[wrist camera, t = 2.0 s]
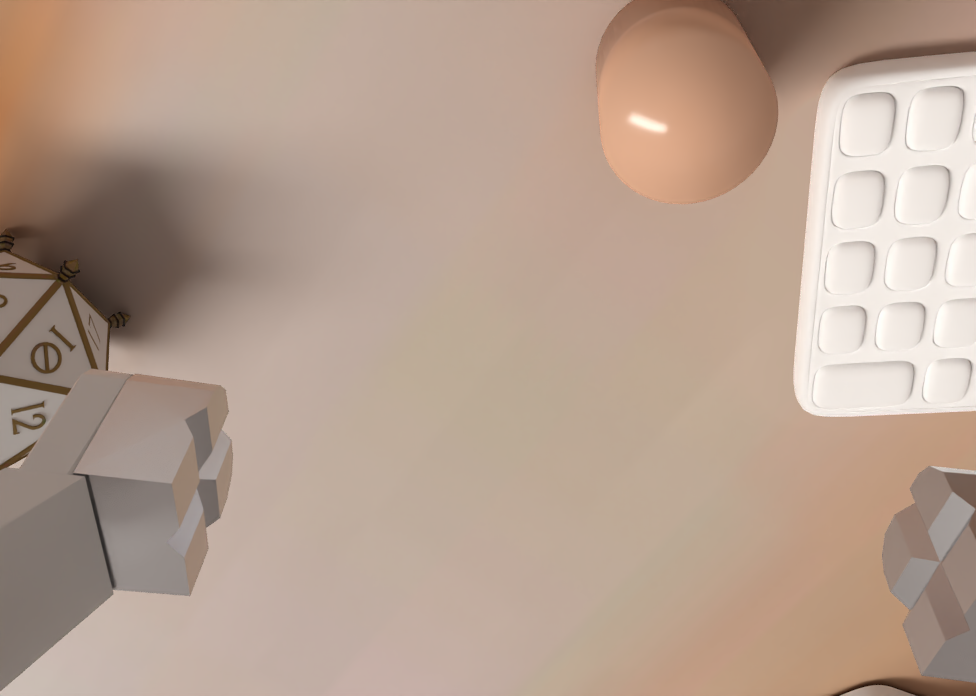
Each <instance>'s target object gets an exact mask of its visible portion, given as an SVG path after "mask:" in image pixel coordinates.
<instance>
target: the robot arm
mask: <svg viewBox="0 0 976 696" xmlns="http://www.w3.org/2000/svg"><path fill="white" fill-rule="evenodd" d="M228 412H229V410H228V403H227V396H226V390H225V389H224V388H223V387H222V386H220V385H214V384H206V383H199V382H192V381H184V380H177V379H170V378H163V377H155V376H148V375H141V374H135V375H132V374H126V373H119V372H112V371H105V370H98V369H90V370H88V371H87V372H85V373H83V374H82V375H81V376H80V377H79V378H78V379H77V381H76V383H75V384H74V386H73V387H72V389H71V390H70V392H69V393H68V395H67V396H66V398H65V399H64V401H63V402H62V404H61V405H60V407H59V409H58V410H57V412H56V413H55V415H54V416H53V418H52V419H51V421H50V422H49V424H48V425H47V427H46V428H45V430H44V431H43V433H42V435H41V436H40V438H39V439H38V441H37V442H36V444H35V445H34V447H33V448H32V450H31V451H30V453H29V454H28V456H27V457H26V459H25V461H24V462H23V464H22V465H21V467H20V468H19V469H15V468H4V469H2V470H0V691H1V690H2V689H4V688H5V687H6V686H7V685H8V684H9V683H11V682H12V681H13V680H14V679H15V678H16V677H18V676H19V675H20V674H21V673H22V672H23V671H25V670H26V669H27V668H28V667H29V666H30V665H32V664H33V663H34V662H35V661H36V660H37V659H39V658H40V657H41V656H42V655H43V654H44V653H46V652H47V651H48V650H49V649H50V648H51V647H53V646H54V645H55V644H56V643H57V642H58V641H59V640H61V639H62V638H63V637H64V636H65V635H66V634H68V633H69V632H70V631H71V630H72V629H73V628H75V627H76V626H77V625H78V624H79V623H80V622H82V621H83V620H84V619H85V618H86V617H87V616H89V615H90V614H91V613H92V612H93V611H94V610H96V609H97V608H98V607H99V606H100V605H101V604H103V603H104V602H105V601H106V600H107V599H108V598H110V597H111V596H112V595H113V590H123V591H135V592H148V593H160V594H172V595H184V596H190V595H191V592H192V590H193V587H194V585H195V582H196V579H197V577H198V574H199V572H200V569H201V567H202V564H203V561H204V559H205V556H206V554H207V551H208V541H207V533H206V528H207V527H208V526H209V525H211V524H212V523H214V522H215V521H216V520H218V519H219V518H220V517H221V514H222V511H223V508H224V506H225V503H226V500H227V496H228V491H229V486H230V481H231V476H232V463H233V452H232V440H231V439H230V438H229V437H228V436H227V435H226V433H225V432H224V431H223V430H222V427H223V424H224V422H225V419H226V417H227V415H228ZM910 491H911V493H912V496H913V498H914V501H915V503H914V504H912V505H911V506H909V507H907V508H905V509H904V510H902V511H900V512H898V513H897V514H895V515H894V517H893V519H892V521H891V523H890V525H889V527H888V529H887V531H886V533H885V538H884V545H883V553H882V559H883V567H884V574H885V577H886V580H887V583H888V586H889V589H890V592H891V593H892V594H893V595H894V596H895V597H896V598H897V599H899V600H900V601H901V602H902V603H903V604H904V605H905V606H906V607H907V608H908V609H909V612H908V614H907V616H906V619H905V621H904V623H903V627H904V630H905V633H906V635H907V638H908V641H909V644H910V646H911V649H912V652H913V654H914V657H915V660H916V662H917V665H918V668H919V670H920V673H921V675H922V676H930V677H937V678H944V679H952V680H959V681H966V682H974V683H976V471H973V470H963V469H954V468H944V467H935V466H928V467H927V468H926V469H924V470H923V471H922V472H920V473H919V474H918V476H917V477H916V479H915V481H914V482H913V484H912V486H911V487H910ZM840 696H916V695H913V694H910V693H907V692H904V691H902V690H899V689H896V688H893V687H889V686H885V685H872V686H866V687H862V688H859V689H856V690H853V691H850V692H848V693H845V694H843V695H840Z"/></svg>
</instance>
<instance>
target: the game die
mask: <svg viewBox="0 0 976 696" xmlns="http://www.w3.org/2000/svg"><path fill="white" fill-rule="evenodd" d="M13 240H14V237H12V236H11V234H10V233H9V232H8V230H7V229H6V230H5V231H4V232H3V233H2V234H1V235H0V470H2V469H4V468H7V467H9V466H11V465H12V464H14V463H16V462H18V461H19V460H21V459H23V458H25V457H27V456H28V454H29V453H30V451H31V450H32V448H33V447H34V445H35V444H36V442H37V441H38V439H39V438H40V436H41V435H42V433H43V431H44V430H45V428H46V427H47V425H48V424H49V422H50V421H51V419H52V418H53V416H54V415H55V413H56V412H57V410H58V409H59V407H60V405H61V404H62V402H63V401H64V399H65V398H66V396H67V395H68V393H69V392H70V390H71V389H72V387H73V386H74V384H75V383H76V381H77V379H78V378H79V377H80V376H81V375H82V374H83V373H85V372H87V371H88V370H90V369H98V370H105V371H108V360H109V338H110V328H111V327H117V328H119V326H125V323H126V322H127V320H128V319H129V318H130V316H128V315H125V314H122V313H121V312H119V313H118V314H116V315H115V314H113V315H112V316H111V317H110V318H108V319H107V318H106V317H105V316H104V315H103V314H102V313H101V312H100V311H99V310H98V309H97V308H96V307H95V306H94V305H93V304H92V303H91V302H90V301H89V300H88V299H87V298H86V297H85V296H84V295H83V294H82V293H81V292H80V291H79V290H78V289H77V288H76V287H75V286H74V285H73V284H72V283H71V282H70V281H69V279H70V278H73V277H75V276H76V275H75V274H76V273H79V272H80V270H79V269H78V259H76V260H72V261H64V265H63V266H61V267H60V273H57V272H54V271H52V270H50V269H48V268H45V267H43V266H41V265H39V264H37V263H34V262H32V261H30V260H28V259H25V258H23V257H21V256H19V255H17V254H14V253H12V252H11V251H10V249H11V248H12V247H13V245H14V243H12V242H13Z"/></svg>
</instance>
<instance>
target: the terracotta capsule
mask: <svg viewBox="0 0 976 696" xmlns="http://www.w3.org/2000/svg"><path fill="white" fill-rule="evenodd" d="M596 82H597V95H598V108H599V122H600V135H601V142H602V147H603V150H604V153H605V156H606V159H607V161H608V163H609V164H610V166H611V168H612V169H613V171H614V172H615V174H616V175H617V176H618V177H619V178H620V179H621V180H622V182H623V183H625V184H626V185H627V186H628V187H629V188H631V189H632V190H634V191H635V192H637V193H639V194H640V195H642V196H645V197H647V198H649V199H652V200H656V201H659V202H664V203H670V204H690V203H697V202H702V201H706V200H709V199H713V198H715V197H718V196H720V195H722V194H725V193H726V192H728V191H730V190H732V189H733V188H735V187H736V186H738V185H739V184H740V183H742V182H743V181H744V180H746V179H747V178H748V177H749V176H750V175H751V174H752V173H753V172H754V171H755V169H756V168H757V167H758V166H759V165H760V163H761V162H762V160H763V159H764V157H765V156H766V154H767V152H768V150H769V148H770V146H771V144H772V141H773V139H774V136H775V132H776V127H777V122H778V102H777V96H776V92H775V89H774V86H773V83H772V81H771V79H770V77H769V75H768V73H767V71H766V70H765V68H764V66H763V64H762V62H761V60H760V59H759V57H758V55H757V53H756V51H755V50H754V48H753V46H752V44H751V42H750V41H749V39H748V37H747V35H746V33H745V32H744V30H743V28H742V26H741V24H740V23H739V21H738V19H737V17H736V16H735V14H734V13H733V12H732V11H731V9H730V8H729V7H728V6H727V5H726V4H725V3H724V2H722V1H721V0H633V1H632V2H630V3H629V4H627V5H626V6H625V7H624V8H623V9H622V10H621V11H620V12H619V13H618V14H617V15H616V16H615V17H614V18H613V20H612V21H611V23H610V24H609V26H608V27H607V29H606V31H605V33H604V34H603V36H602V39H601V42H600V44H599V47H598V52H597V57H596Z"/></svg>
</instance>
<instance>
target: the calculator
mask: <svg viewBox="0 0 976 696" xmlns="http://www.w3.org/2000/svg"><path fill="white" fill-rule="evenodd" d="M962 93H963V94H962ZM892 96H893V97H892ZM974 141H975V142H974ZM907 146H908V147H909V148H908V147H907ZM841 151H842V152H843V153H842V152H841ZM947 170H948V171H947ZM960 215H961V216H960ZM897 220H898V221H897ZM833 223H834V224H833ZM934 241H935V242H934ZM935 243H936V244H935ZM873 247H874V248H873ZM923 307H924V308H923ZM864 310H865V311H864ZM819 347H820V348H819ZM969 361H970V362H969ZM912 365H913V366H912ZM794 388H795V394H796V398H797V400H798V402H799V403H800V405H801V407H802V408H803V409H804V410H805V411H807V412H809V413H811V414H813V415H818V416H826V417H848V416H872V415H895V414H916V413H938V412H960V411H976V51H972V52H962V53H951V54H941V55H930V56H920V57H910V58H900V59H890V60H881V61H874V62H867V63H860V64H856V65H853V66H849V67H846V68H843V69H840V70H839V71H837V72H836V73H835V74H833V75H832V76H830V78H829V79H828V81H827V82H826V84H825V86H824V87H823V90H822V93H821V96H820V100H819V103H818V110H817V117H816V124H815V134H814V145H813V156H812V167H811V178H810V190H809V201H808V212H807V224H806V235H805V246H804V257H803V269H802V280H801V291H800V303H799V314H798V325H797V336H796V348H795V360H794Z"/></svg>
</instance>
